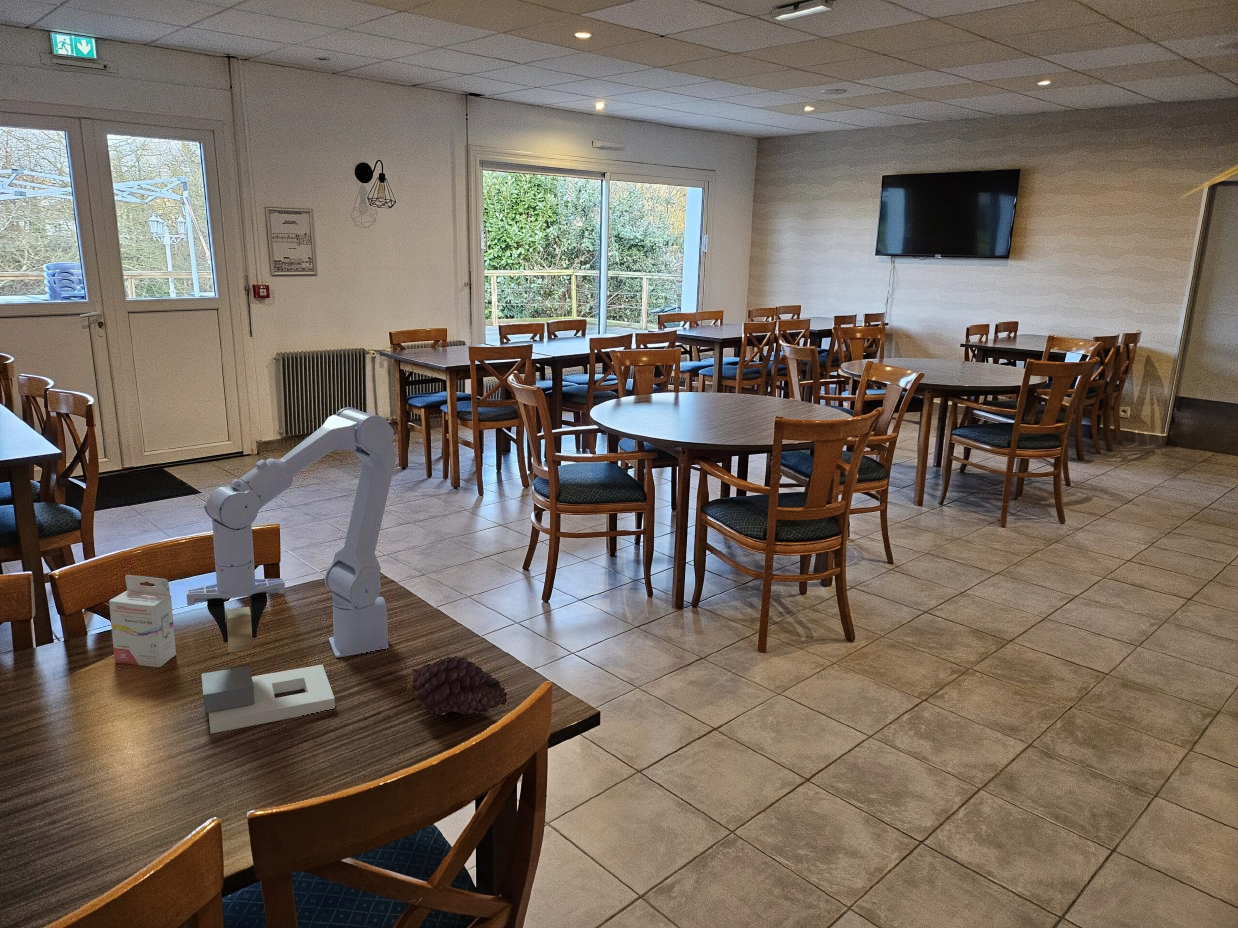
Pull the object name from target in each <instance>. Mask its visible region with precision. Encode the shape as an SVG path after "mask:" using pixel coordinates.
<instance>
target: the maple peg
mask: <svg viewBox="0 0 1238 928" xmlns="http://www.w3.org/2000/svg"><path fill="white" fill-rule="evenodd" d="M225 619H226V626H227V634H228V642H227V648H228V649H227V650H228V653H235V652H241V651H246V650H247V651H248V650H253V649H254V645H253V644H254V643H253V638H252V625H251V608H250V606H244V607H237V608H230V609H228V608H227V609H225Z"/></svg>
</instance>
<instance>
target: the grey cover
mask: <svg viewBox="0 0 1238 928" xmlns="http://www.w3.org/2000/svg"><path fill="white" fill-rule="evenodd" d="M252 677H253V676H252V671H251V667H250V665H246V666H239V667H234V668H228V669H227V668H226V669H223V670H217V671H211V672H210V671H209V672H205V673H204V672H203V673H201V684H202V694H203V695H202V699H203V708H204V713H209V712H211V711H216V710H222V709H227V708H232V707H238V706H243V705H249V704H254V687H253V681H252Z"/></svg>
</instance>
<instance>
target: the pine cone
mask: <svg viewBox="0 0 1238 928" xmlns="http://www.w3.org/2000/svg"><path fill="white" fill-rule="evenodd" d="M412 672H413V677H412V682H410V683H409V684H408V685H407V687H406V690H407V691H415V692H416V694H415V699H416V700H417V701H418V702H421V709H422V710H423V711H429V713H430V714H431V715H432V716H433V717H435V716H438V715H440V714H443V713H447V714H448V713H454V712H455V713H459V714H461V715H466V714H467V715H472V714H477V715H478V714H480V713H487V712H488V711H490V710H491V709H495V708H498V707H499V706H501V705H502V706H505V705H506V703H507V702H508V700H507V697H508V692H505V690H506V689H505V687H501V682H500V681H499V680H498V679H496V678H495V677H493V676H492V674H490V673H488V672H485V671H484V670H483V668H482V667H481V666H479V665H476V663H475V662H473V661H469V660H468V659H467V658H466V657H459V656H457V655H455V656H447V657H445V658H440V659H439V660H436V661H434V662H433V663H432V664H431V663H426V664H424V665H422V666H420V667H418V668H412Z"/></svg>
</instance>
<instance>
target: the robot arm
mask: <svg viewBox="0 0 1238 928" xmlns="http://www.w3.org/2000/svg"><path fill="white" fill-rule="evenodd" d="M394 434H395V430H394V429H393V428H392V426H391V425H390V424H389V422H388V421H387V420H386V419H385V418H384V417H382V416H381V415H378V414H377V415H374V414H371V413H367V412H364V411H361V410H359V409H357V408H355V407H351V406H347V407H344V408H341V409H339V410H338V411H337V412H336V414H333V415H330V416H328V417H327V418H326V419H325V421H324V422H323V424H322V425H321V426H320V427H319V428H317V429H316V430H315V431H314V432H313V433H312V434H310V435H309V436H307V437H306V438H305V439H303V440H302V441H301V442H300V443H299V444H297V445H296V446H295V447H293V448H292V449H291V450H290V451H289V452H287V453H286V454H285V455H283V456H282V457H281V458H279V459H278V458H271V457H270V458H267V459H266V460H264V459H259V461H257V462H255V467H254V468H252V469H251V470H249V472H246V473H245V474H244V475H243V476H241V477H240V478H239V479H236V478H234V479H233V480H232V481H230V486H229V485H226V486H220V487H218V488H216V489H214V490H213V491H212V492H211V493H209V497H208V498H207V501H206V504H204V505H203V509H204V512H205V514H206V515H207V516H208V517H209V518H210V519H211V522H212V524H211V525H212V539H213V540H212V541H213V551H214V552H213V553H214V554H213V555H214V566H215V576H216V578H215V579H216V583H214V584H209V585H205V586H201V587H196V588H191V589H186V591H185V592H186V604H187V606H194V605H195V604H199V603H204V602H205V603H206V604H207V610H208V612H209V614H210V615H211V617H212V618H213V619H214V621H215V622H216V625H217V626H218V628H219V631H220V633H221V636H222V638H223V643H228V634H227V626H226V612H225V610H226V609H225V608H226V607H225V600H228V599H236V598H244V597H249V604H250V606H249V608H250V613H251V625H252V639H256V638H257V635H258V628H259V624H260V621H261V617H262V615H263V613H264V611H265V609H266V608H267V604H268V601H269V600H268V594H274V593H277V594H280V595H281V594H286V584H285V583H286V582H285V579H284V578H283V577H281V578H256V574H255V573H256V572H255V570H256V568H255V555H254V540H253V538H254V537H253V528H252V525H253V523H254V522H255V520H256V518H257V516H258V514H259V511H260V510H261V509H262V508H263V507H264V506H266V505H268V503H270V502H271V501H272V500H274V499H275V498H276V497H278V496H280V495H281V494H282V493H283V492H285V491H286V490H288V489H289V488H291V487H292V485H293V480H294V477H295V475H296V474H298V473H300V472H301V471H303V470H305V469H306V468H307V467H309V466H311V465H312V464H314V463H315V462H317V461H319V460H320V459H321V458H323V457H324V456H326V455H328V454H329V453H331V452H333V451H352V452H354V454H355V455H356V456H357V458H358V460H359V461H360V462H361V464H362V466H361V468H360V469H361V470H360V475H359V479H358V484H357V488H356V491H355V492H356V493H355V497H354V501H353V506H352V510H351V514H350V519H349V524H348V529H347V532H346V535H345V536H346V537H345V541H344V546H343V547H342V548H341V549H339V550H338V551H337V552H335V553H334V557H333V559H332V563H331V564H330V566H329V567H328V568H327V570H326V572H325V575H324V585H325V587H326V588H327V590H329V591H331V598H332V599H331V600H332V622H333V623H332V628H333V630H332V631H333V636H330V637H328V641H329V645H330V646H331V649H332V651H333V654H334V656H335V658H337V659H338V658H343V657H344V658H345V657H349V656H354V655H355V656H356V655H361V653H362V654H367V653H366V652H368V653H371V652H370V651H374V652H376V651H375V650H380V649H386V650H388V649H390V647H389V635H388V634H389V631H388V630H389V625H388V619H389V618H388V609H387V603H386V600H385V598H384V596H380V593H381V590H382V584H381V579H380V576H381V575H380V574H381V570H382V568H381V565H380V562H379V560H378V558H377V556H376V553H375V552H376V549H377V544H378V540H379V535H380V532H381V526H382V522H383V518H384V513H385V511H386V510H385V508H386V504H387V500H388V496H389V491H390V488H391V483H392V478H393V474H394V469H395V465H396V453H395V448H394V447H395V446H394V443H393V438H394ZM387 648H388V649H387ZM380 651H381V650H380Z"/></svg>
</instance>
